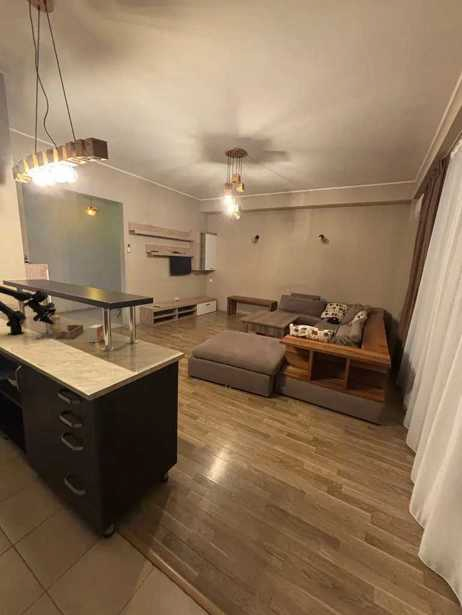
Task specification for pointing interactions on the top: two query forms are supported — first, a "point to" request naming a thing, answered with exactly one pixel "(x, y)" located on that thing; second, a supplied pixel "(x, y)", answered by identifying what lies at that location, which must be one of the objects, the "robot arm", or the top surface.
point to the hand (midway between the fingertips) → (55, 323)
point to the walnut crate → (70, 332)
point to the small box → (95, 333)
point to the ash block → (54, 324)
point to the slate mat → (49, 335)
